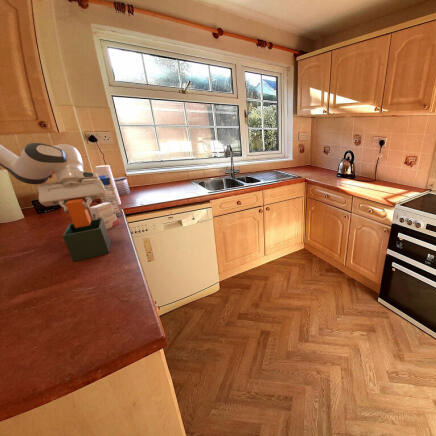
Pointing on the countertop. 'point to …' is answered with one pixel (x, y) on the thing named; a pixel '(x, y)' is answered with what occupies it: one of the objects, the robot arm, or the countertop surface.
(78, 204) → the block
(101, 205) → the ink box
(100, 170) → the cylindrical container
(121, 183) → the can
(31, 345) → the countertop surface
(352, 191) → the countertop surface
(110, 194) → the beverage box
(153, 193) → the countertop surface
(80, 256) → the dark green open box
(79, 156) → the robot arm
